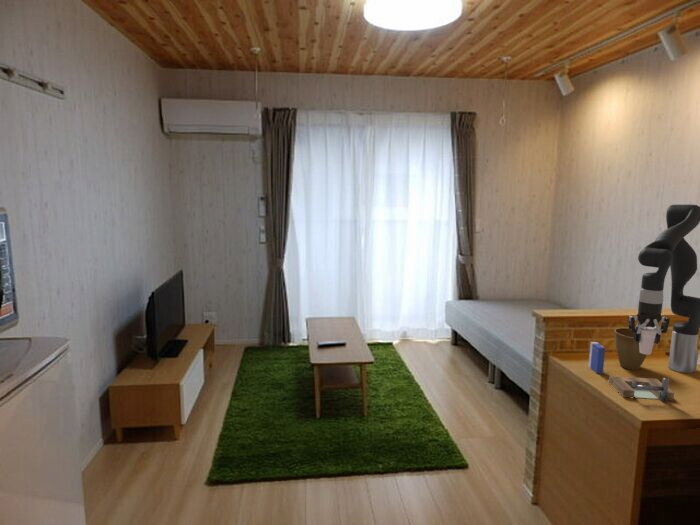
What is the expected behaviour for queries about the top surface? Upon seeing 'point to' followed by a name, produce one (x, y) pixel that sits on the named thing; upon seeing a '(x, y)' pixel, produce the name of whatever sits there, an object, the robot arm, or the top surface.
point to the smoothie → (647, 340)
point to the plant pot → (628, 349)
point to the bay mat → (644, 394)
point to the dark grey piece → (655, 388)
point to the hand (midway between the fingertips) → (646, 342)
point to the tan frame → (625, 384)
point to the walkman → (596, 357)
